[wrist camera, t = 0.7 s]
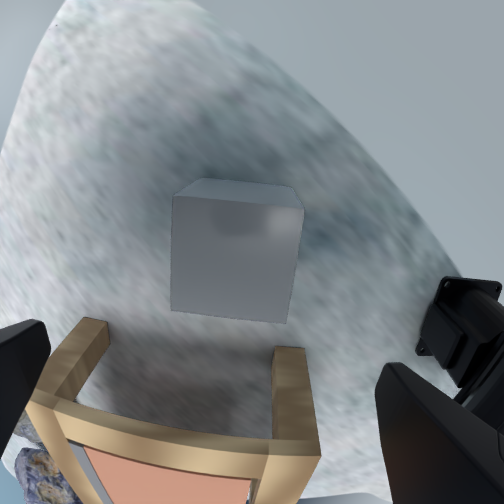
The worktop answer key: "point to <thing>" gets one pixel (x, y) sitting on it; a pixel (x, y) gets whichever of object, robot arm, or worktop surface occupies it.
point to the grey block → (235, 249)
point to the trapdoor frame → (174, 439)
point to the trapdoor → (154, 481)
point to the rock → (42, 479)
